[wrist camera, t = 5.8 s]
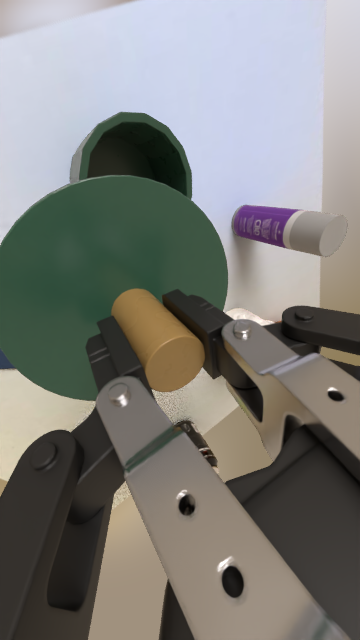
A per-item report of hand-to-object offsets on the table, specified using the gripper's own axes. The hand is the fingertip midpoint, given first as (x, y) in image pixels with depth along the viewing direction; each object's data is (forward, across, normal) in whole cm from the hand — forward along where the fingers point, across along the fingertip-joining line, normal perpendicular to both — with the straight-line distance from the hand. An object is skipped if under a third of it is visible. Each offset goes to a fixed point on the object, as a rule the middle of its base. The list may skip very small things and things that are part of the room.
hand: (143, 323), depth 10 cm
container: (+23, -25, +5) cm, 34 cm away
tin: (+23, -6, -4) cm, 24 cm away
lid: (+2, 0, 0) cm, 2 cm away
